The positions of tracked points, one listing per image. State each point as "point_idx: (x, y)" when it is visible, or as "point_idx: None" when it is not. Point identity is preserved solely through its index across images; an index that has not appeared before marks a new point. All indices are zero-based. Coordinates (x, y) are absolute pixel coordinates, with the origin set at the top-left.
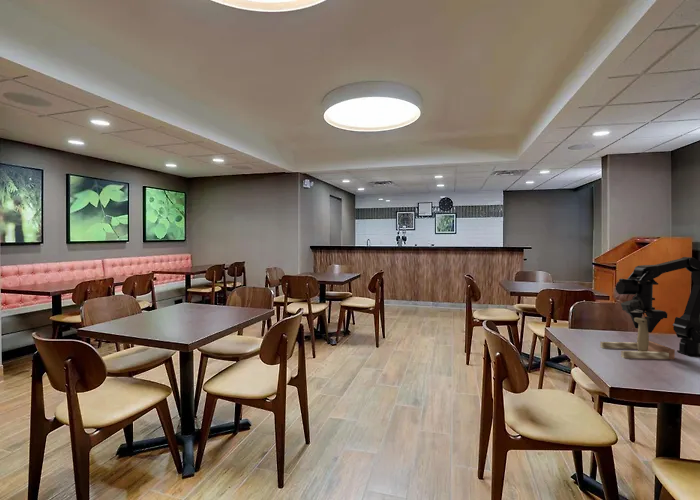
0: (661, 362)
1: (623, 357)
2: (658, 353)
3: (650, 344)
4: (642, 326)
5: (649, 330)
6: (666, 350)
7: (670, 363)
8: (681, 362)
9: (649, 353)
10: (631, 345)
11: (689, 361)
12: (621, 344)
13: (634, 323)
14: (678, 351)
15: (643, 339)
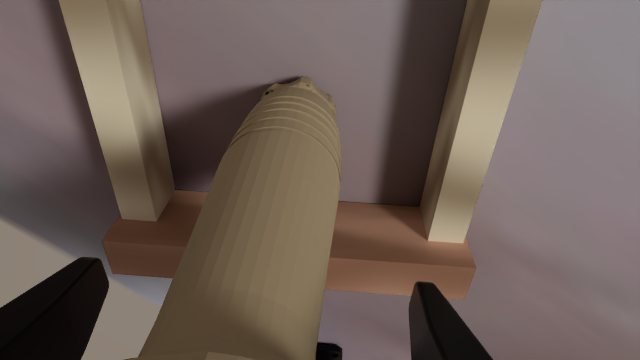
0: (7, 54)
1: None
2: (101, 134)
3: (341, 245)
4: (166, 312)
5: (50, 286)
6: (145, 230)
7: (8, 111)
8: (78, 208)
9: (77, 45)
10: (450, 125)
11: None
12: (481, 10)
13: (452, 350)
14: (326, 348)
15: (221, 163)
